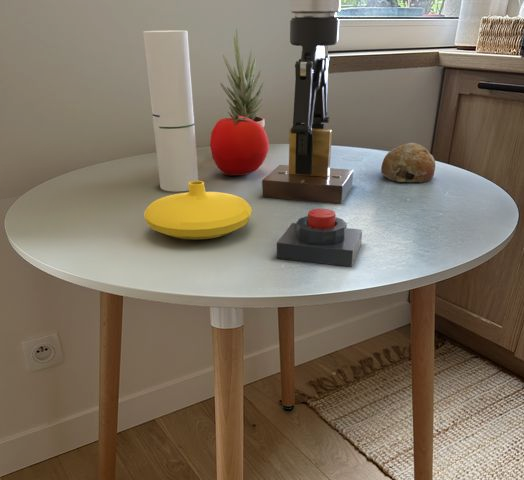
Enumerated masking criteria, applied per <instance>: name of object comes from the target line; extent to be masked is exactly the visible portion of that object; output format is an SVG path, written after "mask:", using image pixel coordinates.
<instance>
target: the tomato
mask: <svg viewBox="0 0 524 480" xmlns="http://www.w3.org/2000/svg"><path fill="white" fill-rule="evenodd" d="M227 114H228V115H229V116H230V117H232V118H230V117H224V118H220V119H219V120H218V121H217V122H216V124H215V125H214V127H213V128H212V131H211V132H210V141H209V142H210V143H209V147H210V153H211V158H212V160H213V162H214V163H215V166H216V167H217V168H218V170H219V171H220V172H222V173H223V174H224V175H227V176H243V175H247V174H252V173H254V172H256V171H257V170H258V169H259V168H260V167H261V166H262V165H263V164H264V161H265V160H266V158H267V156H268V153H269V149H270V146H269V145H270V143H269V138H268V135H267V132H266V130H265V128H264V127H262V126H261V125H260V124H259V123H258V122H255V121H253V120H251V119H249V118H248V117H242V116H238V115H235V117H234V116H233V114H232V113H231V112H229V111H227Z"/></svg>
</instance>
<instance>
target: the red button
mask: <svg viewBox="0 0 524 480" xmlns="http://www.w3.org/2000/svg"><path fill="white" fill-rule="evenodd" d="M336 215H337V214H336V211H334V210H332V209H328V208H313V209H311V210H308V212H307V216H308V226H310V227H313V228H321V229H325V228H332V227H335V217H337V216H336Z"/></svg>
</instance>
